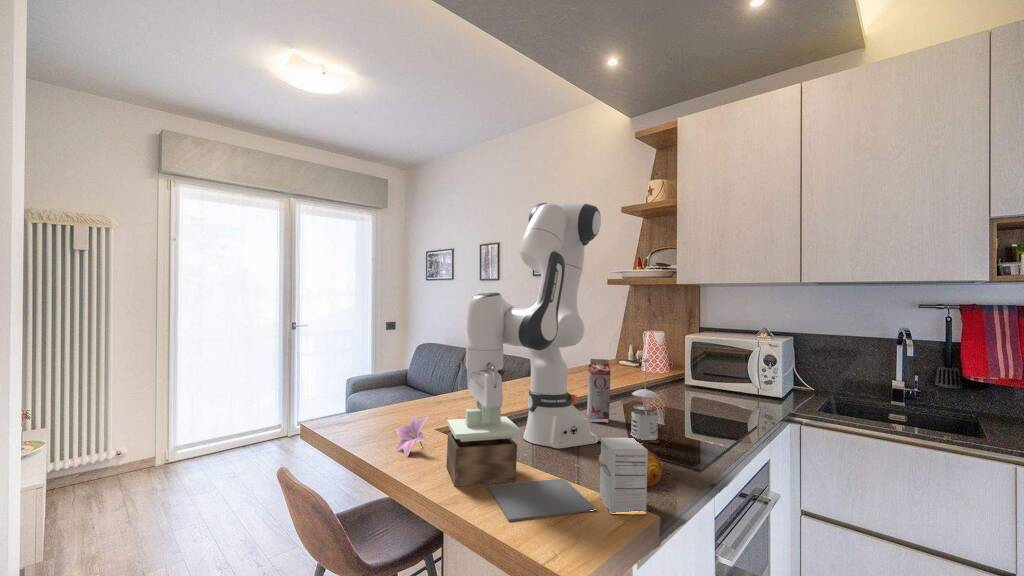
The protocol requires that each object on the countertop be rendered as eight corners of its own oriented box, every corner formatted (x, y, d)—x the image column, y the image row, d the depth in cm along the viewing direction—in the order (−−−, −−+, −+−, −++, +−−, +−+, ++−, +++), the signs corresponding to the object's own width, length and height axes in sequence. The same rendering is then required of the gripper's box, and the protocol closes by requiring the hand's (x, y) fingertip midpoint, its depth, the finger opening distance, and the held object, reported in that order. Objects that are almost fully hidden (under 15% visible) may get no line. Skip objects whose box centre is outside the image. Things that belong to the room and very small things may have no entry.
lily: (396, 446, 117) (385, 422, 113) (433, 429, 120) (423, 405, 117) (402, 473, 107) (391, 447, 104) (442, 453, 110) (432, 428, 107)
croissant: (631, 502, 91) (635, 467, 90) (587, 467, 104) (590, 436, 104) (677, 489, 98) (681, 456, 97) (630, 457, 111) (633, 429, 111)
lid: (505, 424, 106) (506, 402, 106) (520, 439, 95) (521, 414, 95) (446, 428, 101) (447, 405, 102) (455, 444, 90) (456, 418, 90)
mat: (564, 480, 95) (564, 478, 95) (596, 510, 81) (596, 508, 81) (488, 487, 90) (488, 485, 90) (508, 521, 76) (508, 519, 76)
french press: (626, 441, 127) (628, 358, 128) (630, 431, 138) (632, 355, 139) (660, 446, 123) (661, 361, 125) (661, 435, 134) (663, 357, 136)
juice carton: (609, 423, 147) (610, 360, 148) (590, 422, 147) (592, 359, 148) (605, 418, 154) (606, 358, 155) (587, 417, 154) (588, 357, 155)
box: (502, 463, 104) (503, 430, 105) (515, 480, 94) (517, 444, 94) (446, 467, 100) (447, 433, 101) (454, 486, 90) (455, 448, 90)
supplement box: (598, 498, 87) (600, 436, 88) (633, 498, 87) (634, 437, 88) (609, 515, 80) (611, 448, 80) (647, 515, 80) (648, 448, 81)
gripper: (510, 366, 90) (508, 431, 89) (487, 355, 109) (485, 408, 109) (481, 367, 88) (480, 433, 87) (463, 355, 107) (461, 410, 107)
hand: (483, 419), depth 98 cm, fingers closed on lid, 2 cm apart
